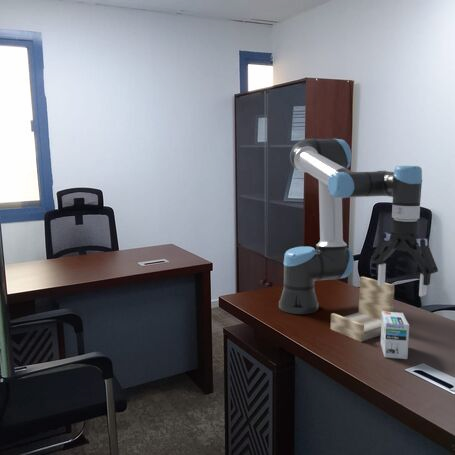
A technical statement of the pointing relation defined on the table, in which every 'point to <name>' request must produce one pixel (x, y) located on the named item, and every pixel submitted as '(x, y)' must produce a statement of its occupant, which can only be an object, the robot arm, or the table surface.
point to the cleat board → (366, 311)
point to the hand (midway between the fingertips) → (401, 289)
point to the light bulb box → (394, 335)
